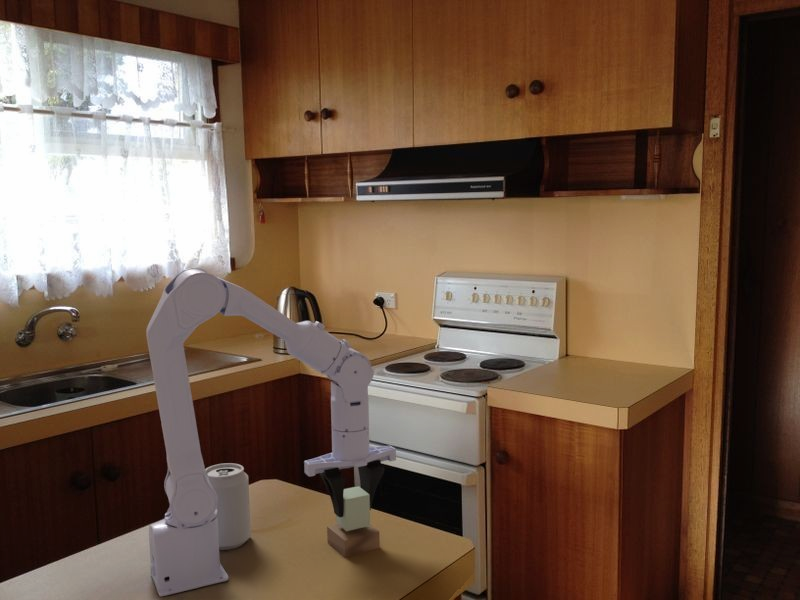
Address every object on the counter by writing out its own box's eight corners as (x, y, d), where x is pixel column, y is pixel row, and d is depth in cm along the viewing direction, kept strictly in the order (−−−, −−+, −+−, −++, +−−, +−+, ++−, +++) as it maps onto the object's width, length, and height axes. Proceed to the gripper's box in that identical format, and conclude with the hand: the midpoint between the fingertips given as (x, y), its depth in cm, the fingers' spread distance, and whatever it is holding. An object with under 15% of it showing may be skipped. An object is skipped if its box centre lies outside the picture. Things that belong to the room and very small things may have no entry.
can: (254, 530, 122) (251, 459, 121) (246, 551, 115) (243, 476, 114) (208, 532, 122) (204, 461, 121) (197, 553, 115) (193, 477, 113)
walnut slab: (345, 559, 112) (344, 540, 112) (327, 544, 118) (327, 526, 117) (379, 549, 116) (379, 531, 115) (361, 535, 121) (360, 517, 120)
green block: (346, 531, 113) (345, 499, 113) (336, 521, 117) (335, 490, 116) (370, 525, 115) (369, 494, 115) (359, 516, 119) (358, 486, 118)
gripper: (314, 441, 107) (317, 531, 109) (404, 426, 114) (405, 511, 116) (298, 428, 114) (301, 514, 115) (384, 415, 120) (385, 496, 122)
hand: (352, 511), depth 116 cm, fingers closed on green block, 4 cm apart
